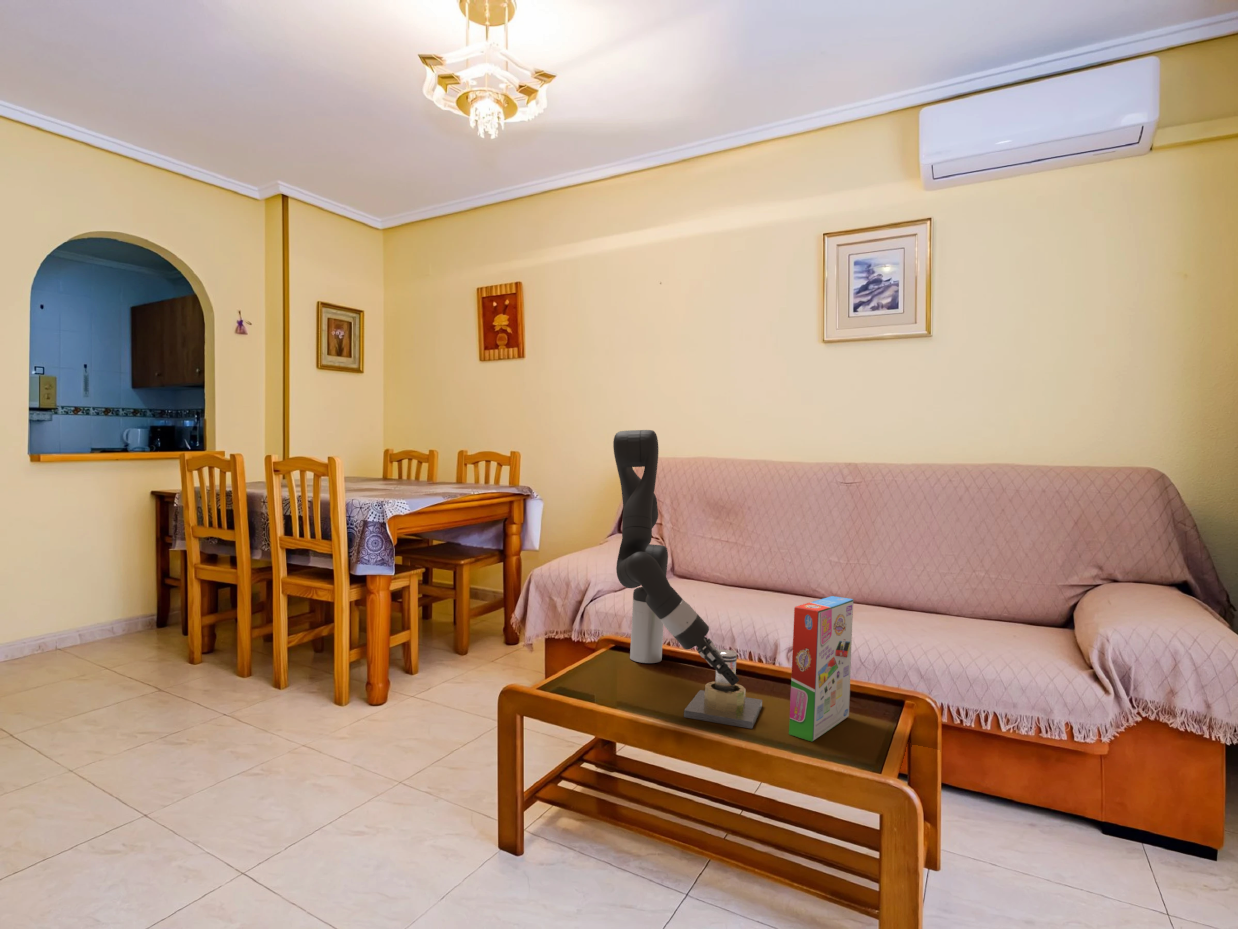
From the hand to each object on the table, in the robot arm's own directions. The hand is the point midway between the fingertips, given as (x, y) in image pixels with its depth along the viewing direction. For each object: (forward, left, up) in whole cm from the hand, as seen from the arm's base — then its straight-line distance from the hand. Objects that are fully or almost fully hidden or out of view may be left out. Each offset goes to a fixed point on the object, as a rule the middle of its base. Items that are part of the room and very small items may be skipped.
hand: (733, 679), depth 153 cm
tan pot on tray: (+1, -2, -7) cm, 8 cm away
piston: (+1, -2, -5) cm, 5 cm away
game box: (0, +19, -8) cm, 21 cm away
